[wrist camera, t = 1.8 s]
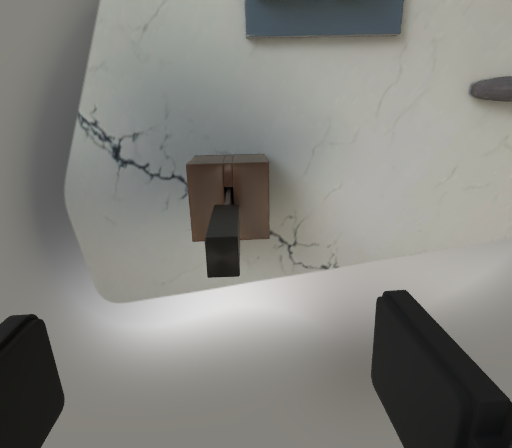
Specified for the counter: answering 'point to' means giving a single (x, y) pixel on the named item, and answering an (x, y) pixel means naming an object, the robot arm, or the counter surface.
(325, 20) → the butter dish
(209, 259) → the knife
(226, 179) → the knife block
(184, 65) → the counter surface
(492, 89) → the ladle
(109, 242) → the counter surface
